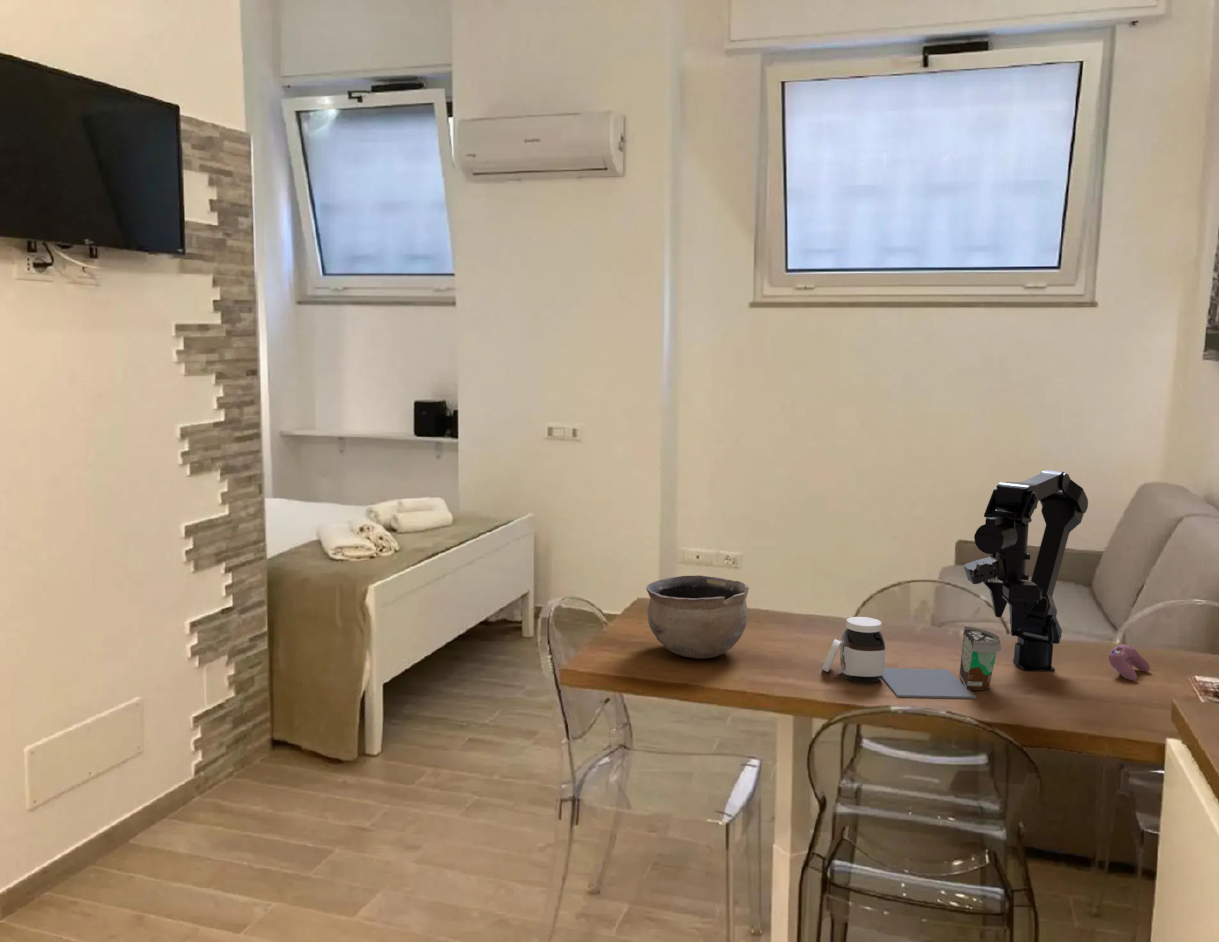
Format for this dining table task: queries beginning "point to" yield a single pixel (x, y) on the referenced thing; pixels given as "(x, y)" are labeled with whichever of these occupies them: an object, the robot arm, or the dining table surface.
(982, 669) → the food container
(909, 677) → the mat
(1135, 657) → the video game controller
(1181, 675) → the dining table surface
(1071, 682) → the dining table surface
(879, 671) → the spread jar
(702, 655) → the ceramic bowl
